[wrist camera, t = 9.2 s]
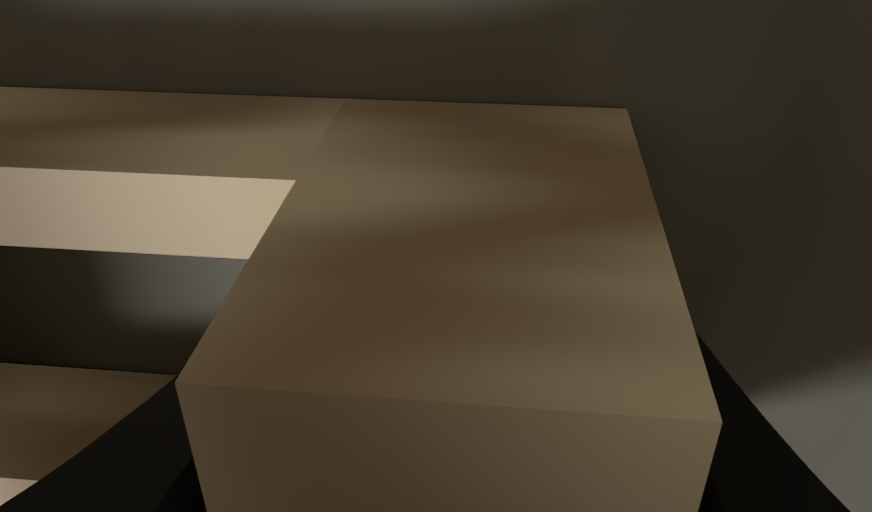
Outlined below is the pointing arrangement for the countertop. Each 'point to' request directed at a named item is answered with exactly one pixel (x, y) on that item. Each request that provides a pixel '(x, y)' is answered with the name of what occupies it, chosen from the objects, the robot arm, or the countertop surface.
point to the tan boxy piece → (374, 300)
